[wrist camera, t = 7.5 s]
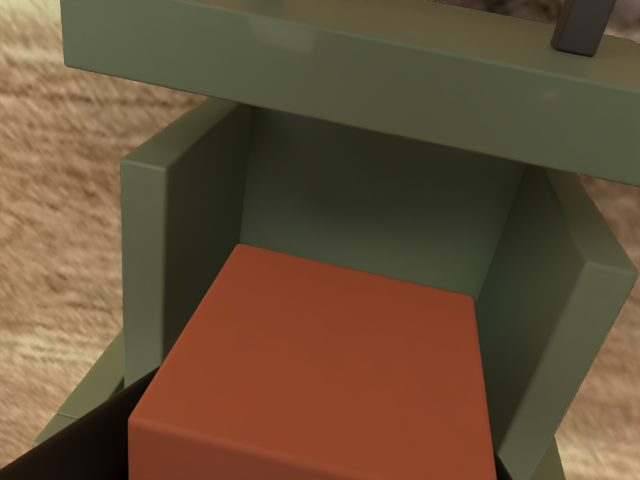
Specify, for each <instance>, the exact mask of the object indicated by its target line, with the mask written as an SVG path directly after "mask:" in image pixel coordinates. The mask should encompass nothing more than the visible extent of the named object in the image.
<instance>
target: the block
mask: <svg viewBox="0 0 640 480" xmlns="http://www.w3.org/2000/svg"><path fill="white" fill-rule="evenodd" d="M128 464H129V480H497V477H496V469H495V462H494V454H493V446H492V439H491V431H490V423H489V415H488V408H487V400H486V392H485V385H484V377H483V369H482V362H481V354H480V346H479V339H478V331H477V323H476V315H475V308H474V300H473V298H472V297H470V296H469V295H465V294H460V293H456V292H452V291H447V290H443V289H438V288H434V287H430V286H425V285H421V284H416V283H412V282H408V281H403V280H399V279H394V278H390V277H386V276H381V275H377V274H372V273H368V272H364V271H359V270H355V269H350V268H346V267H342V266H337V265H333V264H328V263H324V262H320V261H315V260H311V259H306V258H302V257H298V256H293V255H289V254H284V253H280V252H276V251H271V250H267V249H262V248H258V247H253V246H249V245H245V244H238V245H236V247H235V248H234V250H233V252H232V253H231V255H230V256H229V258H228V260H227V261H226V263H225V264H224V266H223V268H222V269H221V271H220V272H219V274H218V276H217V277H216V279H215V280H214V282H213V284H212V285H211V287H210V288H209V290H208V292H207V293H206V295H205V296H204V298H203V300H202V301H201V303H200V304H199V306H198V308H197V309H196V311H195V312H194V314H193V316H192V317H191V319H190V320H189V322H188V324H187V325H186V327H185V329H184V330H183V332H182V333H181V335H180V337H179V338H178V340H177V341H176V343H175V345H174V346H173V348H172V349H171V351H170V353H169V354H168V356H167V357H166V359H165V361H164V362H163V364H162V365H161V367H160V369H159V370H158V372H157V373H156V375H155V377H154V378H153V380H152V381H151V383H150V385H149V386H148V388H147V389H146V391H145V393H144V394H143V396H142V397H141V399H140V401H139V402H138V404H137V405H136V407H135V409H134V410H133V412H132V413H131V415H130V417H129V418H128Z"/></svg>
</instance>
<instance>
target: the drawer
mask: <svg viewBox="0 0 640 480" xmlns="http://www.w3.org/2000/svg"><path fill="white" fill-rule="evenodd" d="M615 3H616V0H565V1H564V4H563V7H562V9H561V12H560V15H559V18H558V21H557V24H556V25H552V24H547V23H542V22H537V21H532V20H526V19H521V18H516V17H511V16H506V15H500V14H495V13H490V12H485V11H480V10H474V9H469V8H464V7H459V6H454V5H448V4H443V3H438V2H433V1H428V0H60V6H61V22H62V37H63V52H64V64H65V66H67V67H71V68H76V69H80V70H85V71H90V72H95V73H99V74H104V75H109V76H114V77H118V78H123V79H128V80H133V81H137V82H142V83H147V84H152V85H156V86H161V87H166V88H171V89H175V90H180V91H185V92H190V93H194V94H199V95H204V96H208V97H207V98H206V99H204V100H203V101H201V102H200V103H199V104H197V105H196V106H194V107H193V108H192V109H190V110H189V111H187V112H186V113H185V114H183V115H182V116H180V117H179V118H178V119H176V120H175V121H173V122H172V123H171V124H169V125H168V126H166V127H165V128H164V129H162V130H161V131H159V132H158V133H157V134H155V135H154V136H152V137H151V138H150V139H148V140H147V141H145V142H144V143H142V144H141V145H140V146H138V147H137V148H135V149H134V150H133V151H131V152H130V153H128V154H127V155H126V156H124V157H123V158H122V159H121V162H120V168H121V223H122V278H123V333H124V388H126V387H128V386H129V385H131V384H132V383H134V382H135V381H137V380H139V379H140V378H142V377H143V376H145V375H146V374H148V373H149V372H151V371H152V370H154V369H155V368H157V367H158V366H160V365H162V364H163V362H164V361H165V359H166V357H167V356H168V354H169V353H170V351H171V349H172V348H173V346H174V345H175V343H176V341H177V340H178V338H179V337H180V335H181V333H182V332H183V330H184V329H185V327H186V325H187V324H188V322H189V320H190V319H191V317H192V316H193V314H194V312H195V311H196V309H197V308H198V306H199V304H200V303H201V301H202V300H203V298H204V296H205V295H206V293H207V292H208V290H209V288H210V287H211V285H212V284H213V282H214V280H215V279H216V277H217V276H218V274H219V272H220V271H221V269H222V268H223V266H224V264H225V263H226V261H227V260H228V258H229V256H230V255H231V253H232V252H233V250H234V248H235V247H236V245H238V244H245V245H249V246H253V247H258V248H262V249H267V250H271V251H276V252H280V253H284V254H289V255H293V256H298V257H302V258H306V259H311V260H315V261H320V262H324V263H328V264H333V265H337V266H342V267H346V268H350V269H355V270H359V271H364V272H368V273H372V274H377V275H381V276H386V277H390V278H394V279H399V280H403V281H408V282H412V283H416V284H421V285H425V286H430V287H434V288H438V289H443V290H447V291H452V292H456V293H460V294H465V295H469V296H470V297H472V298H473V300H474V308H475V315H476V323H477V331H478V339H479V346H480V354H481V362H482V369H483V377H484V385H485V392H486V400H487V408H488V415H489V423H490V431H491V439H492V446H493V448H494V449H495V451H496V452H497V454H498V456H499V457H500V459H501V461H502V462H503V464H504V465H505V467H506V469H507V470H508V472H509V473H510V475H511V477H512V478H513V480H531V478H532V476H533V474H534V472H535V470H536V469H537V467H538V465H539V463H540V461H541V459H542V457H543V455H544V453H545V452H546V450H547V448H548V446H549V444H550V442H551V440H552V438H553V436H554V435H555V433H556V431H557V429H558V427H559V425H560V423H561V421H562V419H563V418H564V416H565V414H566V412H567V410H568V408H569V406H570V404H571V402H572V401H573V399H574V397H575V395H576V393H577V391H578V389H579V387H580V385H581V384H582V382H583V380H584V378H585V376H586V374H587V372H588V370H589V369H590V367H591V365H592V363H593V361H594V359H595V357H596V355H597V353H598V352H599V350H600V348H601V346H602V344H603V342H604V340H605V338H606V336H607V335H608V333H609V331H610V329H611V327H612V325H613V323H614V321H615V319H616V318H617V316H618V314H619V312H620V310H621V308H622V306H623V304H624V302H625V301H626V299H627V297H628V295H629V293H630V291H631V289H632V287H633V285H634V284H635V282H636V280H637V278H638V271H637V270H636V268H635V266H634V265H633V263H632V262H631V260H630V258H629V257H628V255H627V254H626V252H625V251H624V249H623V247H622V246H621V244H620V243H619V241H618V239H617V238H616V236H615V235H614V233H613V232H612V230H611V228H610V227H609V225H608V224H607V222H606V220H605V219H604V217H603V216H602V214H601V213H600V211H599V209H598V208H597V206H596V205H595V203H594V201H593V200H592V198H591V197H590V195H589V194H588V192H587V190H586V189H585V187H584V186H583V184H582V182H581V181H580V179H579V178H578V176H577V175H576V174H579V175H584V176H589V177H594V178H598V179H603V180H608V181H613V182H617V183H622V184H627V185H632V186H636V187H640V44H639V43H637V42H635V41H633V40H630V39H625V38H620V37H615V36H610V35H604V31H605V28H606V26H607V23H608V21H609V18H610V16H611V13H612V11H613V8H614V5H615Z"/></svg>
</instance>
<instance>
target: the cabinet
mask: <svg viewBox="0 0 640 480" xmlns="http://www.w3.org/2000/svg"><path fill="white" fill-rule="evenodd" d="M123 389H125V388H124V333H123V329H122V330H121V331H120V332H119V334H118V335H117V336H116V337H115V339H114V340H113V341H112V343H111V344H110V345H109V346H108V348H107V349H106V350H105V351H104V353H103V354H102V355H101V357H100V358H99V359H98V360H97V362H96V363H95V364H94V365H93V367H92V368H91V369H90V371H89V372H88V373H87V374H86V376H85V377H84V378H83V379H82V381H81V382H80V383H79V385H78V386H77V387H76V388H75V390H74V391H73V392H72V393H71V395H70V396H69V397H68V399H67V400H66V401H65V402H64V404H63V405H62V406H61V407H60V409H59V410H58V411H57V415H55V416H54V417H53V418H52V419H51V421H50V422H49V423H48V424H47V426H46V427H45V428H44V430H43V431H42V432H41V433H40V435H39V436H38V437H37V438H36V440H35V441H34V443H33V448H34V447H36V446H37V445H39V444H40V443H42V442H44V441H45V440H47V439H48V438H50V437H51V436H53V435H54V434H56V433H57V432H59V431H60V430H62V429H63V428H65V427H67V426H68V425H70V424H71V423H73V422H74V421H76V420H77V419H79V418H80V417H82V416H83V415H85V414H86V413H88V412H89V411H91V410H93V409H94V408H96V407H97V406H99V405H100V404H102V403H103V402H105V401H106V400H108V399H109V398H111V397H112V396H114V395H116V394H117V393H119V392H120V391H122V390H123ZM531 480H566V479H565V476H564V472H563V468H562V464H561V460H560V456H559V452H558V448H557V444H556V440H555V436H553V438H552V440H551V442H550V444H549V446H548V448H547V450H546V452H545V453H544V455H543V457H542V459H541V461H540V463H539V465H538V467H537V469H536V470H535V472H534V474H533V476H532V478H531Z"/></svg>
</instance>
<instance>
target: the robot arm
mask: <svg viewBox="0 0 640 480" xmlns="http://www.w3.org/2000/svg"><path fill="white" fill-rule="evenodd" d="M160 367H161V365H160V366H158V367H157V368H155V369H154V370H152V371H151V372H149V373H148V374H146V375H145V376H143V377H142V378H140V379H139V380H137V381H135V382H134V383H132V384H131V385H129V386H128V387H126V388H125V389H123V390H122V391H120V392H119V393H117V394H116V395H114V396H112V397H111V398H109V399H108V400H106V401H105V402H103V403H102V404H100V405H99V406H97V407H96V408H94V409H93V410H91V411H89V412H88V413H86V414H85V415H83V416H82V417H80V418H79V419H77V420H76V421H74V422H73V423H71V424H70V425H68V426H67V427H65V428H63V429H62V430H60V431H59V432H57V433H56V434H54V435H53V436H51V437H50V438H48V439H47V440H45V441H44V442H42V443H40V444H39V445H37V446H36V447H34V448H33V449H31V450H30V451H28V452H27V453H25V454H24V455H22V456H21V457H19V458H17V459H16V460H14V461H13V462H11V463H10V464H8V465H7V466H5V467H4V468H2V469H1V470H0V480H129V464H128V418H129V417H130V415H131V413H132V412H133V410H134V409H135V407H136V405H137V404H138V402H139V401H140V399H141V397H142V396H143V394H144V393H145V391H146V389H147V388H148V386H149V385H150V383H151V381H152V380H153V378H154V377H155V375H156V373H157V372H158V370H159V369H160ZM493 454H494V462H495V469H496V477H497V480H513V478H512V477H511V475H510V473H509V472H508V470H507V469H506V467H505V465H504V464H503V462H502V461H501V459H500V457H499V456H498V454H497V452H496V451H495V449H494V448H493Z"/></svg>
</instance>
